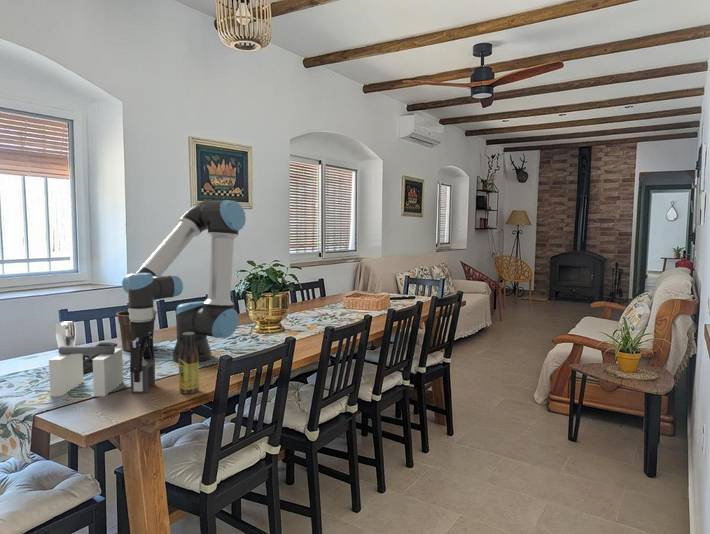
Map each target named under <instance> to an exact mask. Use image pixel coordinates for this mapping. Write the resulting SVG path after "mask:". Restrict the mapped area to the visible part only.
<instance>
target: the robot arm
mask: <svg viewBox="0 0 710 534" xmlns="http://www.w3.org/2000/svg"><path fill="white" fill-rule="evenodd" d="M246 219H247V218H246V213H245V209H244V208H243V206H242V205H241V204H240V203H239V202H237V201H236V200H229V199H221V200H220V199H218V200H214V199H213V200H202V201H199V202H198V203H196V204H194V205H193V206H192V207H191V206H190V208H189V209H188V210H187V211H186V212H184V213H183V214H182V215H181V217H179V219H178V220H177V225H176V226H175V227H174V229H173V230H172V231H171V232H170V233H169V235H167V237H165V239H164V240H163V241H162V242H161V244H160V245H159V246H158V247H157V248H156V249H155V250H154V252H152V254H151V255H150V256H149V257H148V258H147V259H146V261H145V262H143V264H142V265H141V266H140V268H139V269H138V270H137V271H136V272H134V273H133V272H132V273H128V274H126V275H125V276H124V277H123V279H122V281H121V287H122V289H123V290H124V292H125V293H127V295H128V312H129V319H130V320H131V321H130V322H129V331H130V332H131V333H134V334H135V338H134V341H131V342H130V346H131V351H130V361H129V362H130V364H129V373H131V372H133V382H134V391H143V371H141V368H142V360H143V359H156V357H155V349H154V347H155V346H154V333H149V332H152V331H153V330H155V321H154V320H153V318H154V310H155V307H154V306H155V305H154V301H156V300H163V299H168V298H169V299H171V298H174V297H175V298H176V297H179V296H180V295H181V294H182V292H183V290H184V286H183V281H182V279H181V277H179V276H177V275H165V276H164V275H163V274H164V273H165V272H166V271H167V270H168V268H169V267H170V266H171V265H172V264H173V263H174V262H175V260H176V259H177V258H178V257H179V256H180V254H181V253H182V252H183V250H184V249H185V248H186V247H188V245H189V244H190V242H191V241H192V240H193V239H194V237H196V238H197V237H199V236H200V235H201V233H202V232H204V231H207V234H208V235H209V236H210V237H211V241H210V243H211V244H210V257H209V259H210V260H209V273H208V285H207V288H208V289H207V298H206V299H205V300H204V301H193V302H192V301H191V302H186V303H180V304H178V305H177V306H176V313H175V324H176V342H175V345H174V349H173V352H172V361H173V362H175V363H179V355H180V352H181V349H182V345H183V338H182V333H185V332H194V333H195V338H194V342H195V348H196V349H197V351H198V360H199V363H201V361H202V362H205V360H206V361H208V360H210V359H212V349H211V347H210V344H209V341H208V337H213V338H216V339H228V338H229V337H231V336H232V335H234V333H235V332H236V330H237V329H238V326H239V322H240V316H239V314H238V312H237V310H235V309H234V304H235V303H234V302H233V301H232V300H231V290H232V275H233V259H234V258H233V257H234V244H235V239H236V238H237V237H239V231H240V230H242V229H243V228H244V227H245V225H246ZM140 348H141V349H140Z"/></svg>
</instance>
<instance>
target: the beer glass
mask: <svg viewBox="0 0 710 534" xmlns="http://www.w3.org/2000/svg"><path fill="white" fill-rule="evenodd" d="M55 338H56V343H57V347H58V348H59V347H60V346H76V339H77V328H76V321H72V320H71V321H59V322H57V323H55Z"/></svg>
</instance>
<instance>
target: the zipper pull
mask: <svg viewBox="0 0 710 534" xmlns="http://www.w3.org/2000/svg"><path fill="white" fill-rule="evenodd" d="M95 346H114V347H115V348H116V347H118V343H115V342H109V341H108V342H107V341H106V342H104V341H103V342H99V343H98V344H96V345H95ZM100 355H101V354H83V375H85V374H87V373H88V371H89V372H91V371H93V370H92V369H93V359H95V358H96V357H98V356H100ZM90 370H91V371H90ZM86 372H87V373H86ZM84 373H85V374H84Z"/></svg>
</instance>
